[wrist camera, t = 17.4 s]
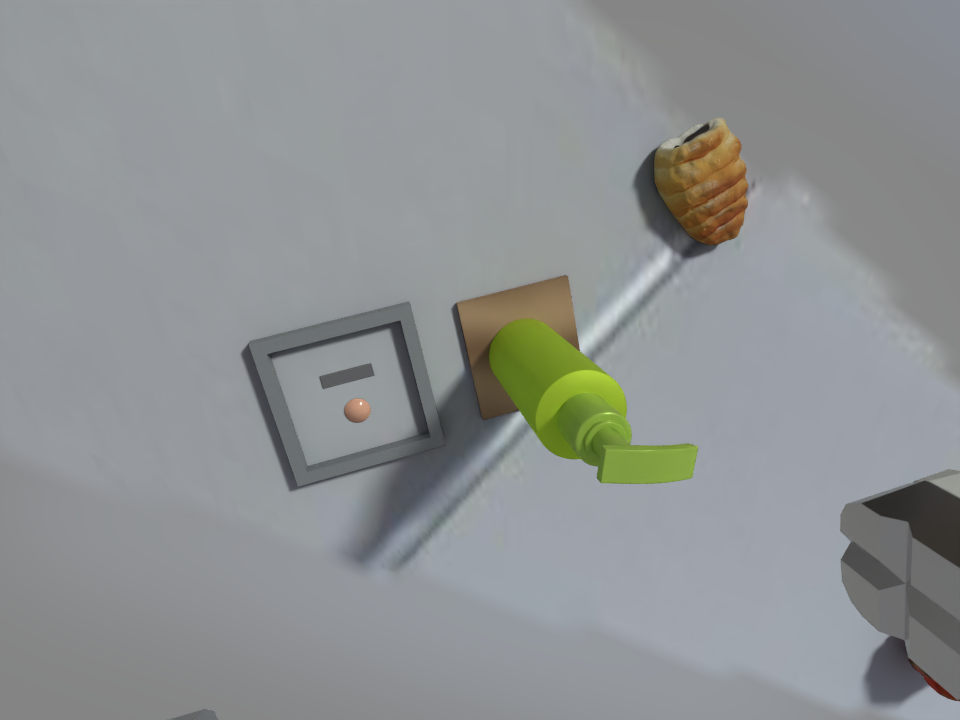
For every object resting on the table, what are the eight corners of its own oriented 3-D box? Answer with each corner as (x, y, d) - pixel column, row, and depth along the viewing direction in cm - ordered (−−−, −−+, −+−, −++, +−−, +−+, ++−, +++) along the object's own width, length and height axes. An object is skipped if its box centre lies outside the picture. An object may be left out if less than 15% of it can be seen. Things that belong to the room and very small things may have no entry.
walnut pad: (456, 302, 49) (457, 304, 48) (565, 275, 50) (567, 276, 49) (481, 417, 52) (483, 420, 52) (584, 389, 53) (586, 391, 53)
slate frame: (250, 341, 47) (248, 344, 46) (408, 301, 48) (410, 304, 47) (298, 480, 51) (297, 486, 50) (443, 440, 52) (445, 445, 51)
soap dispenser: (566, 388, 52) (690, 516, 34) (485, 387, 51) (568, 520, 32) (575, 320, 51) (711, 414, 32) (492, 317, 49) (582, 413, 31)
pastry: (751, 218, 52) (780, 223, 48) (681, 260, 52) (705, 267, 48) (712, 111, 49) (741, 107, 45) (637, 155, 49) (660, 155, 45)
